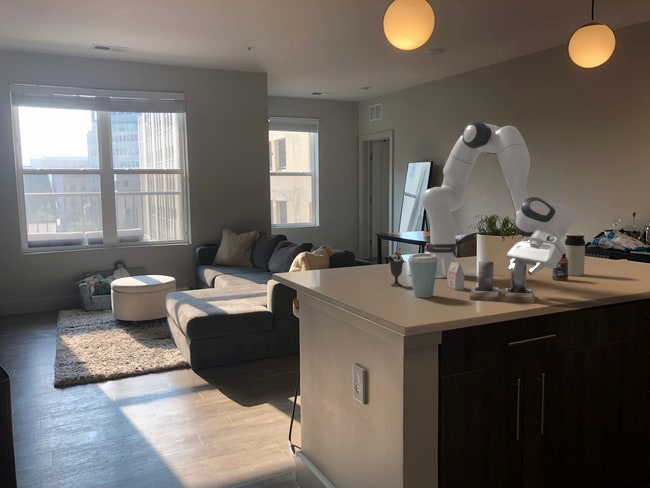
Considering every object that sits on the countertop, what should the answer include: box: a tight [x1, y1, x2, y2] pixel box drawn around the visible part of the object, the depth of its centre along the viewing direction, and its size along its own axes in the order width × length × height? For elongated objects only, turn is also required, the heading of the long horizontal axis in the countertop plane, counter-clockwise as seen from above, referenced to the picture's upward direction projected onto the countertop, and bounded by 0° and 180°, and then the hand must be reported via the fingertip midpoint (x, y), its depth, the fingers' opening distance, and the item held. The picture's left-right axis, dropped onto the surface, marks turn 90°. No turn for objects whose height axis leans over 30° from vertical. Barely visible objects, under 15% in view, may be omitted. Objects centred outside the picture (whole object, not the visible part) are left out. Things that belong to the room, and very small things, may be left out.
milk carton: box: [446, 262, 465, 291], centre depth 202 cm, size 4×7×10 cm, turn 14°
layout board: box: [469, 260, 536, 304], centre depth 183 cm, size 21×12×12 cm, turn 71°
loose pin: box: [510, 262, 527, 293], centre depth 181 cm, size 5×5×11 cm
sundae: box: [387, 247, 405, 287], centre depth 209 cm, size 7×7×15 cm
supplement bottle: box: [552, 253, 569, 282], centre depth 217 cm, size 6×6×11 cm
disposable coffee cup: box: [407, 252, 438, 298], centre depth 188 cm, size 11×11×15 cm
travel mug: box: [564, 232, 586, 277], centre depth 229 cm, size 8×8×18 cm
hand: (520, 272), depth 181 cm, fingers open, 8 cm apart
